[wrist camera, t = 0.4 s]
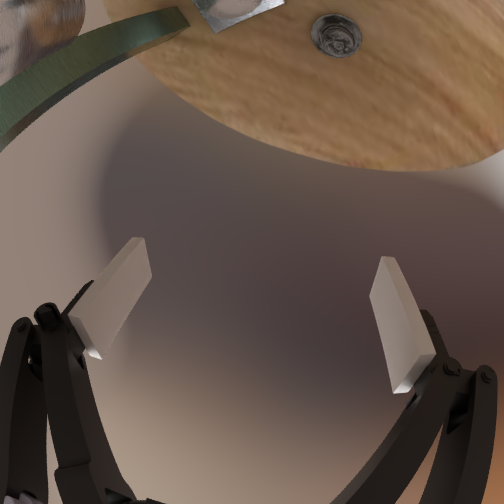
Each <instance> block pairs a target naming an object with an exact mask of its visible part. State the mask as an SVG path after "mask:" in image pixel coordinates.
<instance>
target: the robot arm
mask: <svg viewBox="0 0 504 504" xmlns="http://www.w3.org/2000/svg"><path fill="white" fill-rule="evenodd" d="M151 278H152V275H151V270H150V265H149V261H148V256H147V251H146V246H145V242H144V238H139V237H132V238H131V239H130V241H129V242H128V243H127V244H126V245H125V246H124V247H123V248H122V249H121V251H120V252H119V253H118V254H117V255H116V256H115V257H114V259H113V260H112V261H111V262H110V263H109V264H108V265H107V266H106V268H105V269H104V270H103V271H102V273H101V274H100V275H99V276H98V277H97V278H96V279H95V281H94V280H91V281H90V282H88V283H87V284H85V285H84V286H83V287H82V289H81V290H80V291H79V293H77V294H76V296H75V298H74V299H72V301H71V302H70V303H69V305H68V306H67V307H66V308H65V310H64V311H63V312H62V313H61V314H60V312H59V310H58V308H57V306H56V305H55V304H54V303H50V302H49V303H45V304H43V305H41V306H39V307H38V308H37V310H36V311H35V312H34V318H35V320H36V321H37V323H38V325H33V323H32V322H31V320H30V319H29V318H28V317H23V318H20V319H18V320H17V321H16V322H15V323H14V324H13V326H12V328H11V331H10V334H9V337H8V340H7V344H6V347H5V350H4V354H3V357H2V361H1V365H0V504H48V476H47V454H46V433H47V414H48V419H49V425H50V430H51V435H52V440H53V444H54V449H55V453H56V457H57V461H58V465H59V467H58V469H56V470H55V473H54V476H55V481H56V484H57V487H58V490H59V493H60V496H61V499H62V502H63V504H165V503H161V502H158V501H155V500H152V499H149V498H147V499H146V500H137V499H136V497H135V495H134V493H133V491H132V490H131V488H130V487H129V485H128V484H127V483H126V482H125V480H124V479H123V477H122V475H121V473H120V471H119V468H118V466H117V464H116V462H115V459H114V456H113V454H112V451H111V448H110V446H109V443H108V440H107V437H106V435H105V432H104V429H103V426H102V423H101V419H100V417H99V413H98V410H97V406H96V403H95V399H94V395H93V392H92V388H91V384H90V380H89V375H88V371H87V366H86V362H85V357H84V355H83V351H84V350H85V348H86V350H87V351H88V353H89V355H90V356H93V357H96V358H99V359H103V357H104V356H105V354H106V352H107V350H108V348H109V346H110V345H111V343H112V341H113V340H114V338H115V336H116V334H117V333H118V331H119V329H120V327H121V326H122V324H123V323H124V321H125V319H126V318H127V316H128V314H129V313H130V311H131V309H132V308H133V306H134V305H135V303H136V301H137V300H138V298H139V297H140V295H141V293H142V292H143V290H144V289H145V287H146V285H147V284H148V282H149V281H150V279H151ZM369 297H370V300H371V303H372V307H373V310H374V314H375V318H376V321H377V325H378V329H379V332H380V337H381V341H382V344H383V349H384V353H385V357H386V362H387V366H388V371H389V375H390V380H391V385H392V390H393V393H404V392H408V391H409V390H410V389H411V388H412V386H413V385H414V388H415V393H414V394H413V396H412V397H411V398H410V399H409V400H408V401H407V402H406V405H407V406H406V407H405V409H404V410H403V412H402V414H401V415H400V417H399V418H398V420H397V422H396V423H395V425H394V426H393V427H392V429H391V430H390V432H389V433H388V435H387V436H386V438H385V439H384V440H383V442H382V443H381V445H380V446H379V447H378V449H377V450H376V451H375V453H374V454H373V455H372V457H371V458H370V459H369V461H368V462H367V463H366V464H365V465H364V467H363V468H362V469H361V470H360V471H359V473H358V474H357V475H356V476H355V477H354V479H353V480H352V481H351V482H350V483H349V484H348V485H347V486H346V488H345V489H344V490H343V491H342V492H341V493H340V494H339V495H338V496H337V497H336V498H335V499H334V500H333V501H332V502H331V503H330V504H395V503H396V501H397V500H398V498H399V497H400V496H401V494H402V493H403V491H404V490H405V488H406V487H407V486H408V484H409V482H410V481H411V480H412V478H413V476H414V475H415V473H416V472H417V470H418V468H419V467H420V465H421V463H422V462H423V460H424V458H425V457H426V455H427V453H428V451H429V449H430V447H431V446H432V444H433V442H434V440H435V438H436V436H437V434H438V432H439V430H440V428H441V426H442V424H443V428H442V432H441V436H440V440H439V444H438V448H437V452H436V455H435V459H434V462H433V466H432V469H431V472H430V475H429V478H428V481H427V484H426V487H425V489H424V492H423V495H422V497H421V500H420V502H419V504H481V502H482V499H483V495H484V491H485V488H486V483H487V479H488V474H489V469H490V464H491V459H492V453H493V446H494V438H495V429H496V428H495V427H496V416H497V375H496V373H495V371H494V370H493V369H492V368H491V367H489V366H488V365H481V366H479V368H478V369H477V370H476V371H470V370H465V369H462V367H461V365H460V363H459V362H458V361H457V360H456V359H454V358H451V357H449V355H448V352H447V350H446V347H445V345H444V342H443V340H442V337H441V335H440V334H439V330H438V328H437V327H436V323H435V321H434V319H433V317H432V316H431V315H430V314H429V312H428V311H427V310H419V309H418V306H417V304H416V302H415V300H414V297H413V295H412V293H411V291H410V289H409V287H408V285H407V283H406V280H405V278H404V276H403V274H402V272H401V270H400V268H399V266H398V264H397V262H396V260H395V258H394V257H384V256H383V257H381V260H380V264H379V267H378V271H377V274H376V277H375V280H374V283H373V286H372V290H371V292H370V295H369ZM28 358H30V362H29V363H28ZM443 422H444V423H443Z"/></svg>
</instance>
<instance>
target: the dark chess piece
mask: <svg viewBox="0 0 504 504" xmlns="http://www.w3.org/2000/svg"><path fill="white" fill-rule="evenodd" d="M311 37H312V41H313V43H314V45H315V46H316V47H317V49H318V50H319V51H321V52H322V53H324V54H325V55H328V56H330V57H334V58H345V57H349V56H351V55H353V54H354V53H355V52H356V51H357V50H358V49H359V47H360V46H361V42H362V35H361V32H360V29H359V27H358V26H357V25H356V24H355V22H353V21H352V20H351V19H350V18H348V17H345V16H343V15H339V14H328V15H324V16H322V17H320V18H319V19H317V20H316V21H315V23H314V24H313V26H312V29H311Z"/></svg>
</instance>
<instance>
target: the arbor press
mask: <svg viewBox="0 0 504 504" xmlns="http://www.w3.org/2000/svg"><path fill="white" fill-rule="evenodd" d="M192 1H193V2H194V4H195V5H196V7H197V8H198V10H199V11H200V12H201V14H202V15H203V17H204V18H205V20H206V21H207V23H208V24H209V26H210V27H211V29H212V30H213V32H214V33H215V34H216V33H218V32H220V31H222V30H224V29H226V28H228V27H230V26H232V25H234V24H237V23H239V22H241V21H243V20H245V19H248V18H250V17H252V16H255V15H257V14H259V13H262V12H264V11H267V10H269V9H272V8H274V7H277V6H280V5H283V4H285V3H286V2H285V0H192ZM84 17H85V1H84V0H1V1H0V152H1V151H2V150H3V149H4V148H5V147H6V146H7V145H8V144H10V142H12V141H13V140H14V139H15V138H16V137H17V136H18V135H19V134H20V133H21V132H22V131H23V130H24V129H26V128H27V127H28V126H29V125H30V124H31V123H33V122H34V121H35V120H36V119H38V118H39V117H40V116H41V115H42V114H44V113H45V112H46V111H48V110H49V109H50V108H51V107H53V106H54V105H55V104H57V103H58V102H59V101H61V100H62V99H64V98H65V97H66V96H68V95H69V94H71V93H72V92H73V91H75V90H76V89H78V88H79V87H81V86H82V85H84V84H85V83H87V82H89V81H90V80H92V79H93V78H95V77H97V76H98V75H100V74H101V73H103V72H105V71H107V70H108V69H110V68H112V67H114V66H116V65H118V64H119V63H121V62H123V61H125V60H127V59H129V58H131V57H133V56H135V55H137V54H139V53H141V52H143V51H145V50H147V49H149V48H152V47H154V46H156V45H158V44H161V43H163V42H165V41H168V40H170V39H171V38H173V37H174V36H176V35H177V34H179V33H180V32H182V31H184V30H185V29H187V28H189V27H190V25H189V23H188V22H187V20H186V19H185V18H184V16H183V15H182V13H181V12H180V11H179V9H178V8H177V7H172V8H167V9H162V10H158V11H153V12H149V13H145V14H141V15H138V16H134V17H130V18H127V19H124V20H121V21H117V22H114V23H111V24H108V25H106V26H103V27H100V28H97V29H95V30H92V31H89V32H87V33H84V34H82V35H80V36H78V34H79V32H80V30H81V28H82V25H83V22H84Z"/></svg>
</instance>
